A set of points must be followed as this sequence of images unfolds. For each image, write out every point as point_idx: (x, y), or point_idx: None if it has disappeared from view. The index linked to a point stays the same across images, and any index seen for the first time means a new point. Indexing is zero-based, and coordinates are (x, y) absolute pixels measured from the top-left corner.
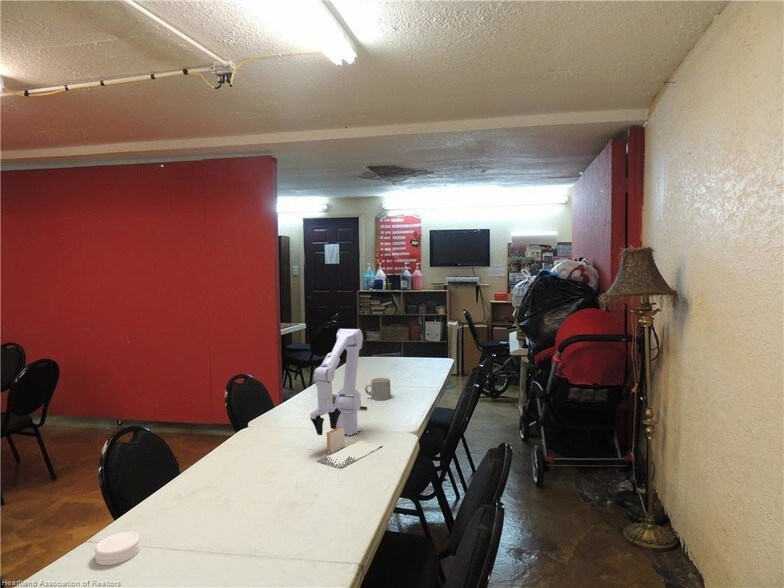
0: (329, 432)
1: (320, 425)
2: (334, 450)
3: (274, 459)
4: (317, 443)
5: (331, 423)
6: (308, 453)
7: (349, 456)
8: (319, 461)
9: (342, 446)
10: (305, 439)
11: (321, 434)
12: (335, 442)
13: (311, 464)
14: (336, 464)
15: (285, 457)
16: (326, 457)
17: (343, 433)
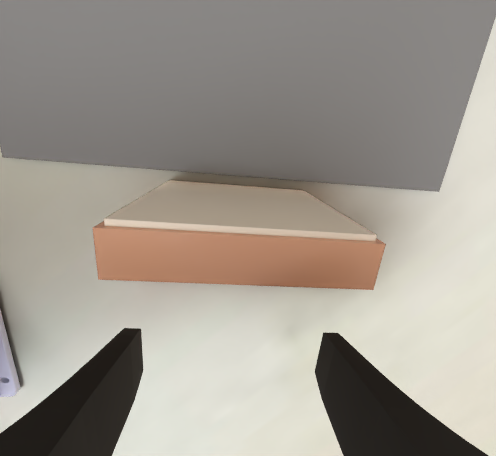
0: (356, 264)
1: (454, 434)
2: (273, 189)
3: (452, 380)
4: (208, 354)
5: (117, 419)
6: (344, 305)
7: (307, 14)
8: (443, 169)
9: (188, 183)
10: (197, 428)
11: (336, 335)
12: (267, 198)
13: (474, 192)
14: (466, 17)
15: (421, 359)
16: (377, 170)
17: (141, 201)
